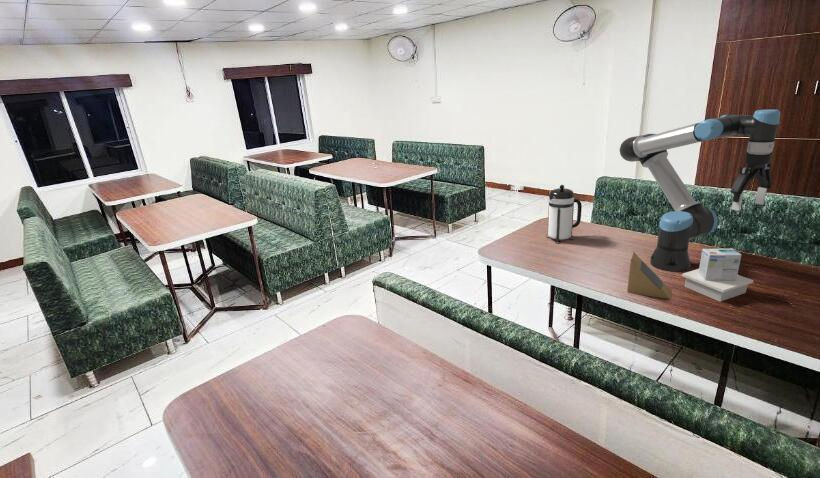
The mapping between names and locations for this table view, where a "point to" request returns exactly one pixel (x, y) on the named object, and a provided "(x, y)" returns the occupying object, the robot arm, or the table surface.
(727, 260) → the light bulb box
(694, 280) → the podium
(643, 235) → the table surface
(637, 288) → the sandwich container
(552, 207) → the coffee press
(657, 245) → the robot arm
